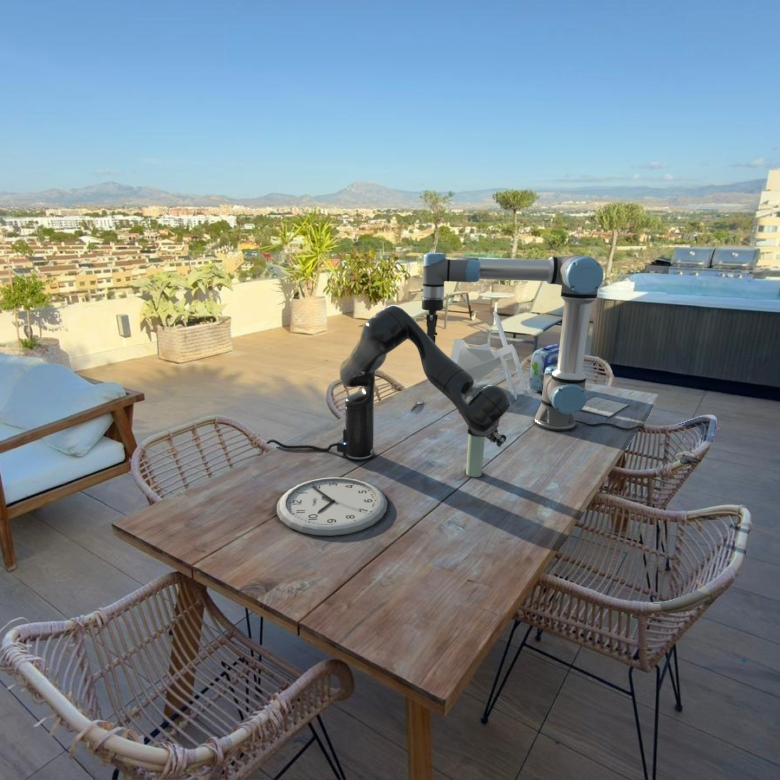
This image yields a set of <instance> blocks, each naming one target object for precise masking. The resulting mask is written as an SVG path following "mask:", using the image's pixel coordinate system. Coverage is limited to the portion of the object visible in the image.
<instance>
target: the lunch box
mask: <svg viewBox="0 0 780 780" xmlns="http://www.w3.org/2000/svg"><path fill="white" fill-rule="evenodd" d="M559 346H560V344H551V345H547V346H545V347H541V348H539V349H536V350H534V352H533V353H532V355H531V358H530V359H531V360H530V366H529V377H528V379H529V380H528V387H529V390H531V391H536V392H541V393H542V392H543V382H544V373H545V369H546V368H547V367H553V366H557V364H558V355H559Z"/></svg>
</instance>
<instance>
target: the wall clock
mask: <svg viewBox="0 0 780 780" xmlns="http://www.w3.org/2000/svg"><path fill="white" fill-rule="evenodd" d="M387 509H388V500H387V498H386V496H385V494H384V493H383V492H382V491H381V490H380V489H379V488H377V487H376V486H374V485H372V484H371V483H369V482H365V481H362V480H359V479H355V478H349V477H338V476H337V477H335V476H333V477H332V476H331V477H322V478H317V479H312V480H307V481H305V482H302V483H299V484H297V485H295V486H293V487H292V488H290V489H288V490H287V491H286V492H285V493H284V494H283V495H281V496H280V498H279V499H278V502H277V503H276V515H277V517H278V518H279V520H280V521H281V522H282V523H283V524H285V525H286V526H287V527H288V528H290V529H293V530H295V531H297V532H299V533H303V534H308V535H312V536H327V537H328V536H329V537H331V536H332V537H333V536H342V535H350V534H352V533H356V532H361V531H363V530H366V529H368V528H369V527H372V526H373V525H375V524H376V523H378V522H379V521H380V520H381V519H382V518H383V517H384V516H385V514H386V512H387Z"/></svg>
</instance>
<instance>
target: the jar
mask: <svg viewBox="0 0 780 780" xmlns="http://www.w3.org/2000/svg"><path fill="white" fill-rule="evenodd" d="M485 438H486V437H479V436H472V435H470V434H468V438H467V439H468V440H467V454H466V467H465V469H466V470H465V474H466V475H467V476H469V477H471V478H479V477H482V475H483V465H484V452H485V451H484V450H485Z"/></svg>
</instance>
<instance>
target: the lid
mask: <svg viewBox="0 0 780 780" xmlns="http://www.w3.org/2000/svg"><path fill="white" fill-rule="evenodd" d="M467 434H468V435H469V434H470V435H472V436H476V435H475V434H473V433H472V432H471V431H470V429H469V427H468V426H467Z"/></svg>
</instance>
